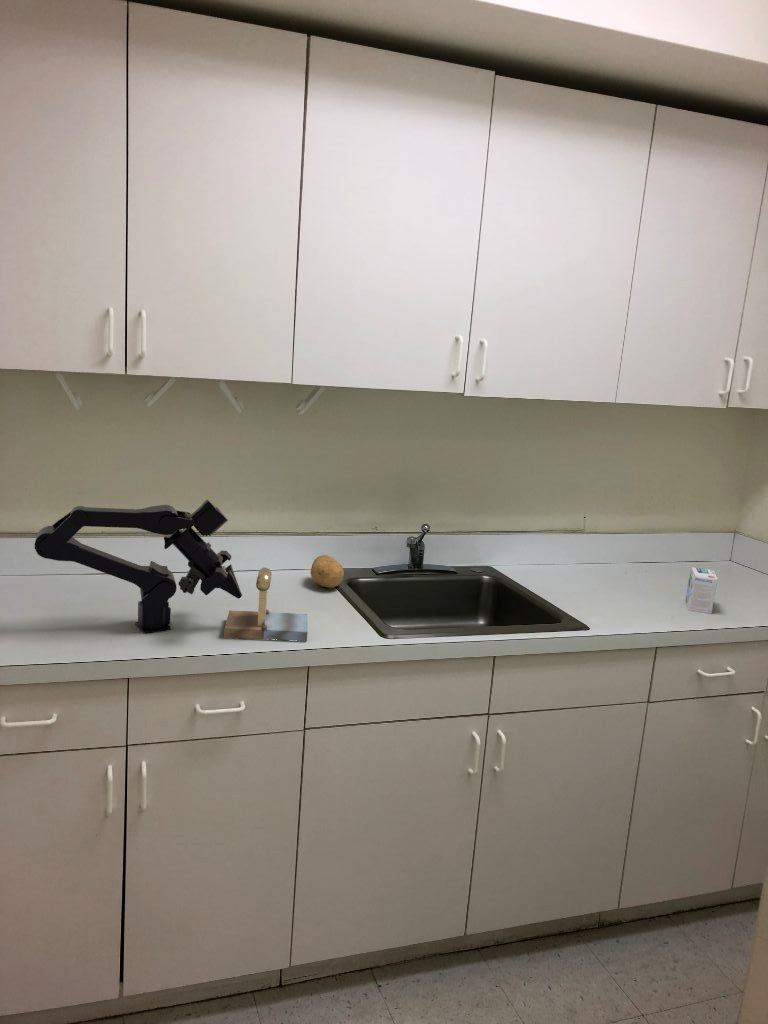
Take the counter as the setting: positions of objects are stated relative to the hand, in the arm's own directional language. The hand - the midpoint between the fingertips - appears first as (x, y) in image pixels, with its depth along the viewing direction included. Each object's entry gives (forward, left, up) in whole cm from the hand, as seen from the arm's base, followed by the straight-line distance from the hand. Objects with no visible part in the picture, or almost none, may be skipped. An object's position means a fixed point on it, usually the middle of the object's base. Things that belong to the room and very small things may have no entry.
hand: (240, 597), depth 192 cm
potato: (+37, +20, -8) cm, 43 cm away
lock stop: (+5, -4, -5) cm, 8 cm away
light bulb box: (+132, -37, -8) cm, 137 cm away
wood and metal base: (+5, -4, -8) cm, 10 cm away
